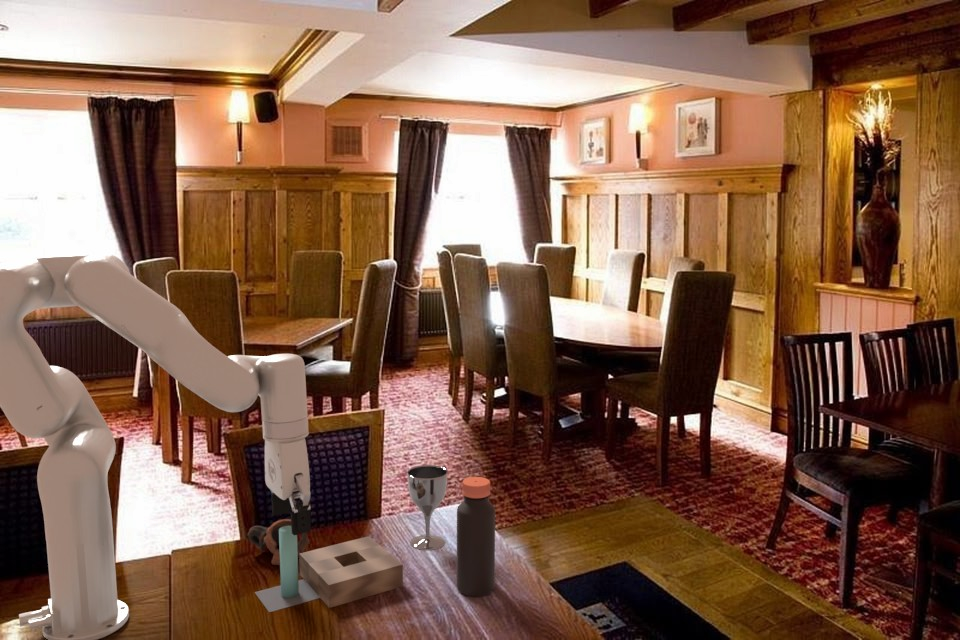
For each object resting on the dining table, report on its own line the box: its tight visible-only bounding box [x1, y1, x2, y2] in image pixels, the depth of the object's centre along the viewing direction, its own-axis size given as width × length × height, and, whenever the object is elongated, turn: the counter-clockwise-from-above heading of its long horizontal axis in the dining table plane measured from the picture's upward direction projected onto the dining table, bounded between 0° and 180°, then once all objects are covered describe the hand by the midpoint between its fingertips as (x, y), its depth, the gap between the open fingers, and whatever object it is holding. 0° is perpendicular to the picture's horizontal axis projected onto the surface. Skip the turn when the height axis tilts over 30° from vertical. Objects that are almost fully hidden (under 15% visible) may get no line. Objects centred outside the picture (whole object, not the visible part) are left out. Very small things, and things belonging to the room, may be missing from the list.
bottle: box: [456, 476, 496, 597], centre depth 139 cm, size 7×7×20 cm
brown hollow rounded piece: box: [247, 518, 311, 566], centre depth 152 cm, size 12×10×8 cm
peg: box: [279, 526, 299, 599], centre depth 136 cm, size 3×3×12 cm
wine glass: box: [407, 464, 448, 551], centre depth 157 cm, size 8×8×15 cm
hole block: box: [298, 535, 404, 609], centre depth 142 cm, size 14×14×4 cm
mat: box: [254, 578, 321, 613], centre depth 137 cm, size 10×8×1 cm
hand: (291, 522), depth 135 cm, fingers open, 9 cm apart
